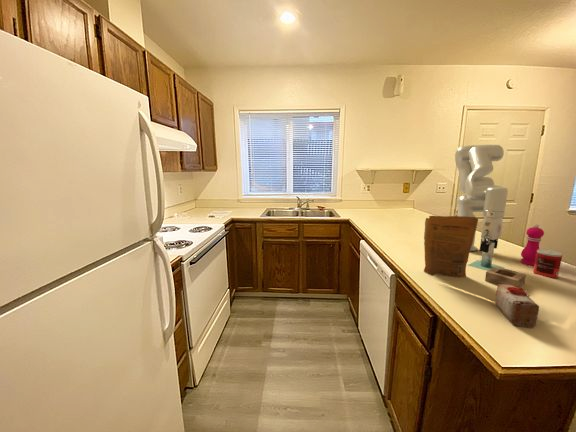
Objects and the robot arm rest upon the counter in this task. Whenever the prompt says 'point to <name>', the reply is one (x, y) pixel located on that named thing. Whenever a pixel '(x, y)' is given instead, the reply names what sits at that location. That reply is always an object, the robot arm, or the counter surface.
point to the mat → (478, 265)
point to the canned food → (547, 263)
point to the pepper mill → (532, 245)
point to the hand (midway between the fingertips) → (488, 249)
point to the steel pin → (488, 256)
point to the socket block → (505, 277)
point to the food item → (517, 305)
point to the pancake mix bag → (448, 244)
